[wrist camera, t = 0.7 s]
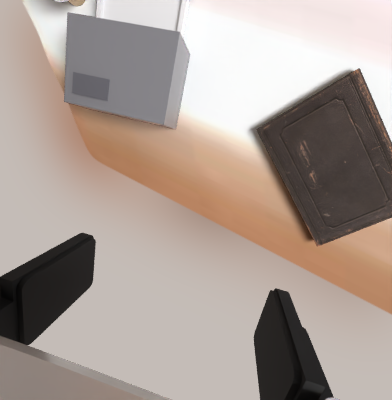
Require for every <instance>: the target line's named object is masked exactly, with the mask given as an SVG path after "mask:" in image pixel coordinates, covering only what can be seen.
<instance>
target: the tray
mask: <svg viewBox="0 0 392 400" xmlns="http://www.w3.org/2000/svg"><path fill="white" fill-rule="evenodd" d="M189 2H190V0H97V11H96V17H97V18H103V19H109V20H115V21H120V22H126V23H132V24H138V25H143V26H149V27H155V28H161V29H166V30H172V31H178V32H180V33H181V35H182V38H183V36H184V30H185V24H186V19H187V13H188V7H189Z"/></svg>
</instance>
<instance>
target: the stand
mask: <svg viewBox="0 0 392 400" xmlns="http://www.w3.org/2000/svg"><path fill="white" fill-rule="evenodd" d="M68 1H69V2H70V3H71V4H72V5H74V6H80V5H82V4H83V3H84V2H85V0H68Z"/></svg>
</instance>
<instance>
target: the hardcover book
mask: <svg viewBox="0 0 392 400" xmlns="http://www.w3.org/2000/svg"><path fill="white" fill-rule="evenodd" d="M257 131H258V133H259V135H260V137H261V139H262V141H263V143H264V145H265V147H266V149H267V151H268V153H269V155H270V156H271V158H272V160H273V162H274V164H275V166H276V168H277V170H278V172H279V174H280V176H281V178H282V180H283V182H284V183H285V185H286V187H287V189H288V191H289V193H290V195H291V197H292V199H293V201H294V203H295V205H296V207H297V209H298V211H299V212H300V214H301V216H302V218H303V220H304V222H305V224H306V226H307V228H308V230H309V232H310V234H311V236H312V238H313V239H314V241H315V243H316V245H317V246H320V245H323V244H325V243H328V242H330V241H333V240H335V239H338V238H340V237H343V236H346V235H348V234H351V233H353V232H356V231H358V230H361V229H363V228H366V227H369V226H371V225H374V224H376V223H379V222H381V221H384V220H386V219H389V218H392V142H391V140H390V137H389V135H388V133H387V130H386V128H385V126H384V124H383V121H382V119H381V117H380V114H379V112H378V110H377V107H376V105H375V103H374V100H373V98H372V96H371V93H370V91H369V89H368V87H367V84H366V82H365V80H364V77H363V75H362V73H361V70H360V69H357V70H355V71H354V72H352V73H350V74H349V75H347V76H345V77H343V78H342V79H340V80H338V81H337V82H335V83H333V84H332V85H330V86H328V87H327V88H325V89H323V90H322V91H320V92H318V93H317V94H315V95H313V96H312V97H310V98H308V99H307V100H305V101H303V102H302V103H300V104H298V105H297V106H295V107H293V108H292V109H290V110H288V111H286V112H285V113H283V114H281V115H280V116H278V117H276V118H275V119H273V120H271V121H270V122H268V123H266V124H265V125H263V126H261V127H260V128H258V129H257Z"/></svg>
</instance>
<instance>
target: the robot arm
mask: <svg viewBox="0 0 392 400" xmlns="http://www.w3.org/2000/svg"><path fill="white" fill-rule="evenodd" d="M95 243H96V242H95V239H94V238H93V236H92V235H88V234H85V233H80V234H78V235H76V236H74V237H72V238H71V239H69V240H67V241H65V242H64V243H61V244H60V245H58V246H56V247H54V248H52V249H50V250H49V251H47V252H45V253H43V254H41V255H39V256H38V257H36V258H34V259H32V260H30V261H28V262H26V263H25V264H23V265H21V266H19V267H17V268H15V269H14V270H12V271H10V272H8V273H6V274H4V275H3V276H1V277H0V400H171V399H168V398H166V397H163V396H160V395H158V394H155V393H153V392H150V391H147V390H145V389H142V388H140V387H137V386H134V385H132V384H129V383H126V382H124V381H121V380H118V379H116V378H113V377H110V376H108V375H105V374H102V373H100V372H97V371H95V370H92V369H89V368H87V367H84V366H81V365H79V364H76V363H73V362H71V361H68V360H65V359H62V358H60V357H57V356H54V355H51V354H49V353H46V352H43V351H41V350H38V349H35V348H33V347H30V346H27V345H29V344H31V343H32V342H33V341H34V340H35V339H36V338H37V337H38V336H39V335H41V334H42V333H43V332H44V331H45V330H46V329H47V328H48V327H49V326H50V325H51V324H52V323H53V322H54V321H55V320H56V319H57V318H58V317H59V316H60V315H61V314H62V313H64V311H66V310H67V309H68V308H69V307H70V306H71V305H72V304H73V303H74V302H75V301H76V300H77V299H78V298H79V297H80V296H81V295H82V294H83V293H84V292H85V291H86V290H87V289H88V288H89V287H90V286H91V285H92V282H93V271H94V257H95ZM254 346H255V356H256V364H257V374H258V383H259V392H260V400H340V399H336V398H334V397H333V394H332V392H331V390H330V387H329V385H328V382H327V380H326V377H325V375H324V372H323V370H322V367H321V365H320V362H319V360H318V358H317V355H316V353H315V350H314V348H313V345H312V343H311V340H310V338H309V335H308V333H307V331H306V329H304V328H303V327H302V325H301V323H300V320H299V318H298V315H297V313H296V310H295V307H294V305H293V303H292V300H291V297H290V294H289V293H288V292H287V291H283V290H280V289H275V290H274V291H272V290H271V291H270V292H269V295H268V298H267V300H266V303H265V306H264V308H263V311H262V314H261V317H260V319H259V322H258V325H257V328H256V330H255V334H254Z"/></svg>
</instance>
